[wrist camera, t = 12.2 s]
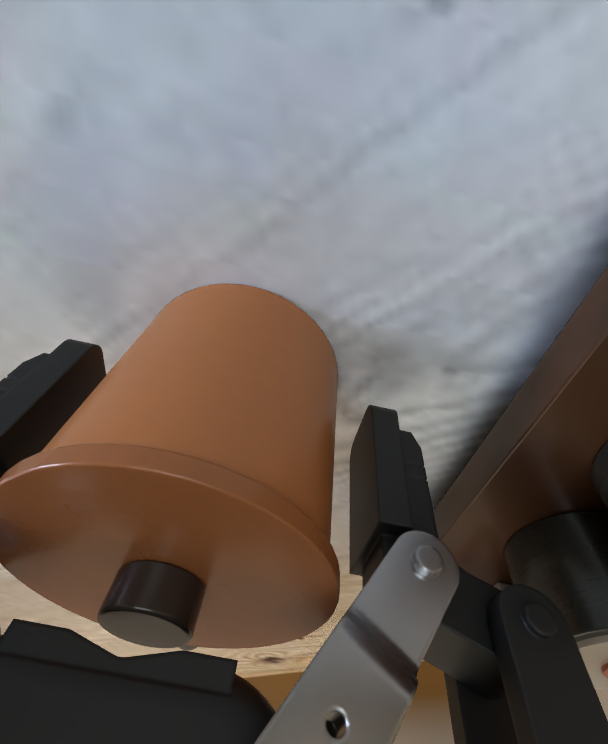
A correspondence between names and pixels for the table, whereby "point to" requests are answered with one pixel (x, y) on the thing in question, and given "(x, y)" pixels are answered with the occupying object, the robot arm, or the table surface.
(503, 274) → the table surface
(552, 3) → the table surface
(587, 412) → the sushi board
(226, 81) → the table surface
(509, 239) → the table surface
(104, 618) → the copper saucepan
